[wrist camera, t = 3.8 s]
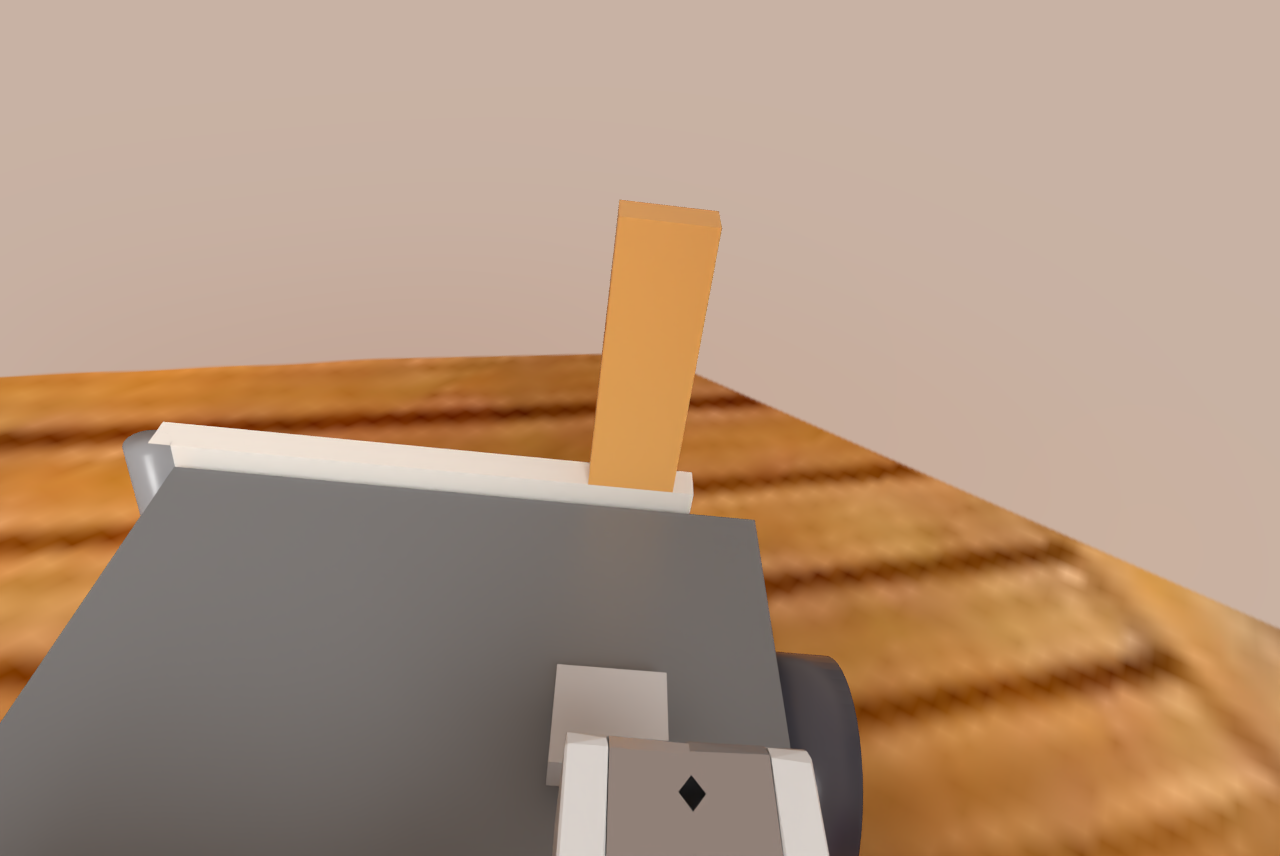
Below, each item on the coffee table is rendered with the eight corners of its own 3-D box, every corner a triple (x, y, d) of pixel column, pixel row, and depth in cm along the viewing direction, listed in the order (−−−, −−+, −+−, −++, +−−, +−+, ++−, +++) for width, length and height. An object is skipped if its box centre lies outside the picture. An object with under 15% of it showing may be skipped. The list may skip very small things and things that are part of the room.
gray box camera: (810, 1103, 22) (935, 902, 16) (43, 1068, 21) (-112, 837, 15) (760, 718, 31) (829, 503, 25) (224, 677, 30) (170, 440, 24)
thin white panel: (651, 713, 30) (749, 241, 20) (175, 677, 29) (32, 159, 19) (651, 675, 32) (743, 214, 22) (195, 639, 30) (71, 135, 21)
